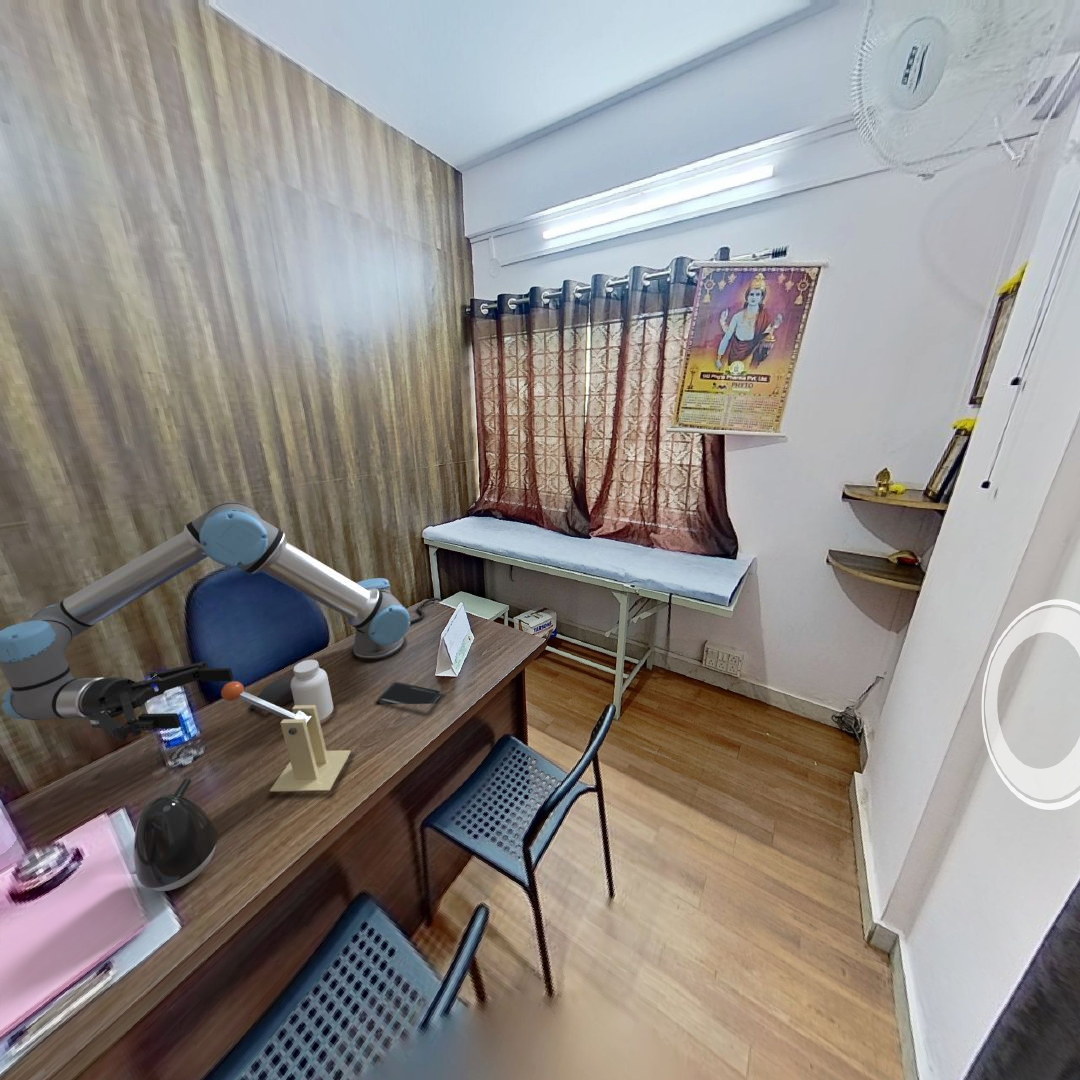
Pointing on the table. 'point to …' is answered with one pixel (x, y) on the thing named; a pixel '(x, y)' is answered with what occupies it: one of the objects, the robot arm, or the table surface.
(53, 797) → the table surface
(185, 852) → the black rounded teardrop
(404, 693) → the phone
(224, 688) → the lever
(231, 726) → the table surface
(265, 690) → the computer mouse
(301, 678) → the pill bottle
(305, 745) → the bracket
